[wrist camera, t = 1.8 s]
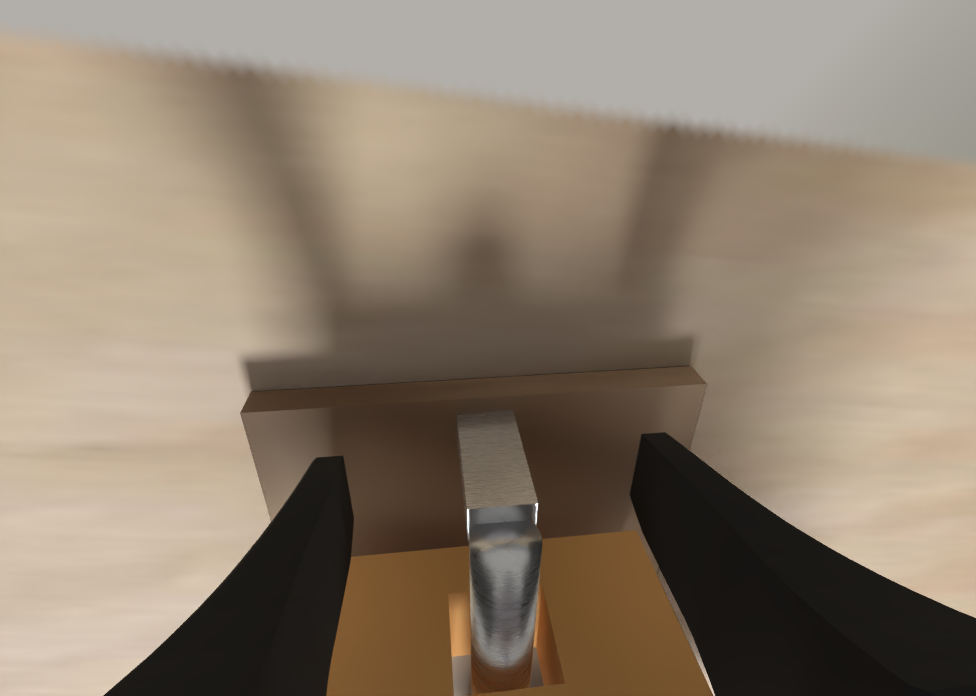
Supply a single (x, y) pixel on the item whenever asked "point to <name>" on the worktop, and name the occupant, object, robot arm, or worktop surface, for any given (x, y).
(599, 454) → the walnut board
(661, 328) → the worktop surface
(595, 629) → the collar
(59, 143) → the worktop surface
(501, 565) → the metal rod
